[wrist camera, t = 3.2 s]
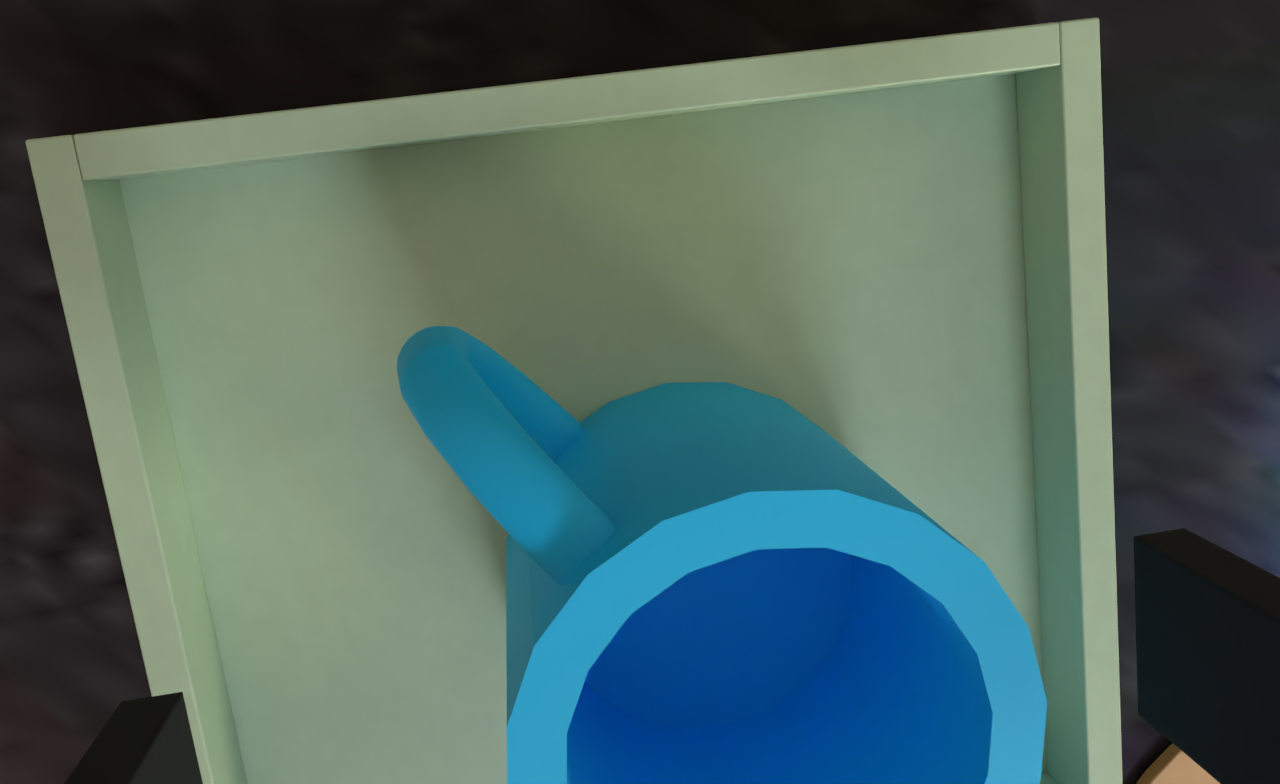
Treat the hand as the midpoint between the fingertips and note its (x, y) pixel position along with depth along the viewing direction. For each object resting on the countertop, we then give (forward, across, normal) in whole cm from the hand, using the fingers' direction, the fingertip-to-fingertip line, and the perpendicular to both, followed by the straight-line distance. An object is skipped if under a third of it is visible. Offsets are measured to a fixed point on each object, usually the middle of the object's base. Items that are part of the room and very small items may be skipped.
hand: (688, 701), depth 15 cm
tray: (+10, 0, 0) cm, 10 cm away
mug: (+9, 0, 0) cm, 9 cm away
